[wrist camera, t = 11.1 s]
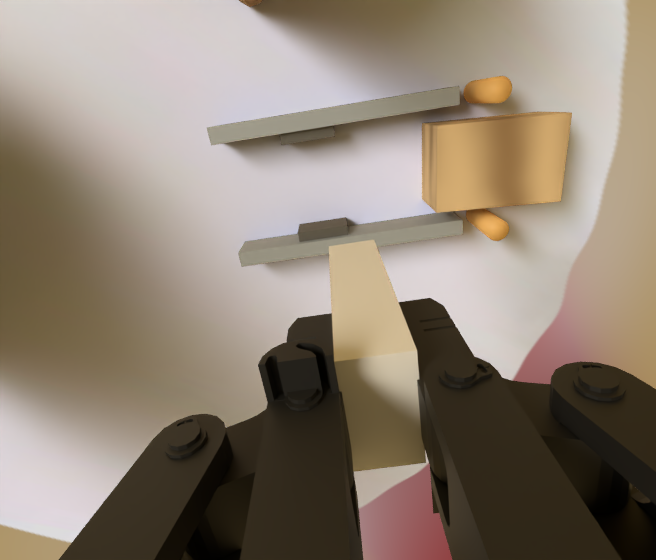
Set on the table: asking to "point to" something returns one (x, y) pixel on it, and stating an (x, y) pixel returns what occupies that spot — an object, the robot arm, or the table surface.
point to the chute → (336, 232)
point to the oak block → (494, 160)
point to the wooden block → (251, 2)
